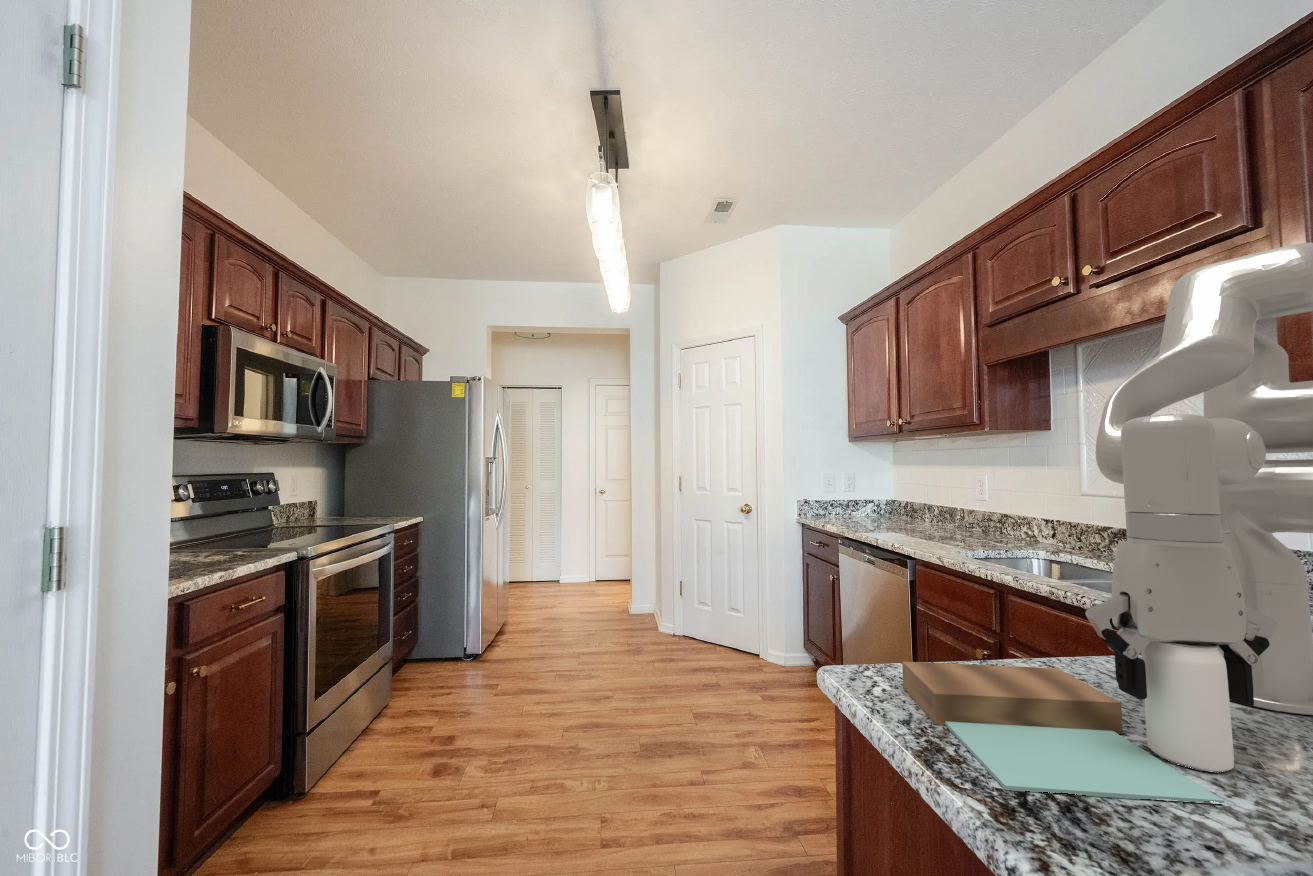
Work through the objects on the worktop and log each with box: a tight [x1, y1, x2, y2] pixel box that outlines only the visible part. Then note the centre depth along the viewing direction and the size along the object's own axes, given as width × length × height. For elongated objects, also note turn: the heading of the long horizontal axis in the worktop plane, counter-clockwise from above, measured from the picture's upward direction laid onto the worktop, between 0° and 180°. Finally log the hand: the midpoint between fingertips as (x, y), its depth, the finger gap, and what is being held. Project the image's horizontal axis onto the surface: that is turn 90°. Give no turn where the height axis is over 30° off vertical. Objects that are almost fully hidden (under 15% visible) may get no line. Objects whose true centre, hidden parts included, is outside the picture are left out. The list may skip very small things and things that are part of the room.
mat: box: [944, 721, 1226, 805], centre depth 56 cm, size 18×14×1 cm
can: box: [1140, 640, 1235, 774], centre depth 57 cm, size 6×6×12 cm
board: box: [901, 661, 1124, 735], centre depth 69 cm, size 20×12×4 cm, turn 83°
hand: (1183, 697), depth 57 cm, fingers open, 9 cm apart
